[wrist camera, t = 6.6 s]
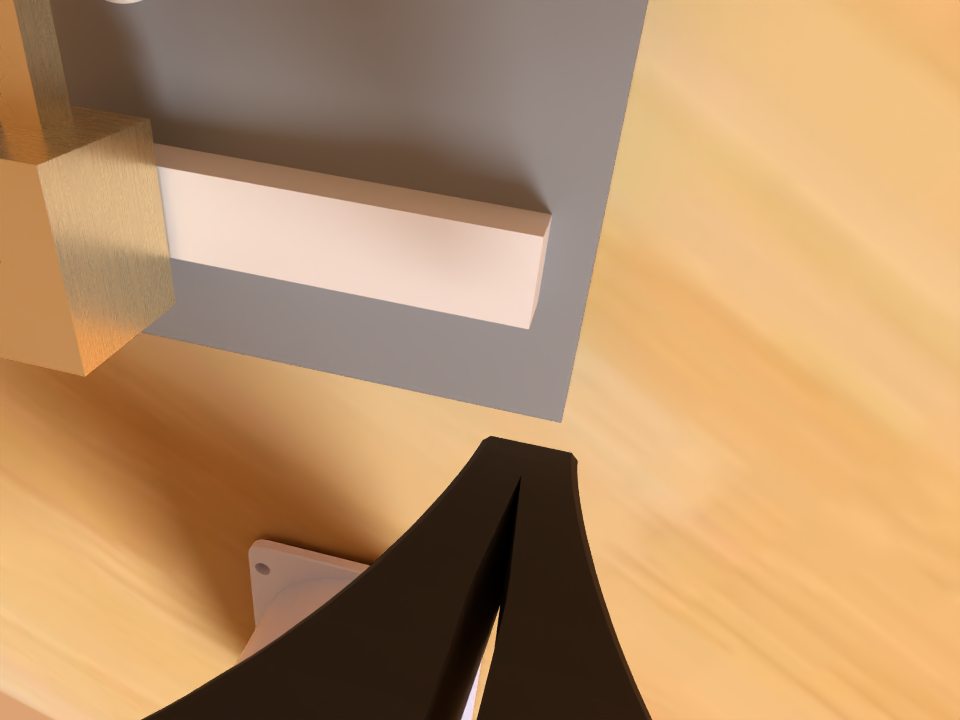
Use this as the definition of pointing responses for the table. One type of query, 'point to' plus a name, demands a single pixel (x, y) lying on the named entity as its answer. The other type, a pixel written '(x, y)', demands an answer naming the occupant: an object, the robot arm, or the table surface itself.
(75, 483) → the table surface
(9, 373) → the table surface
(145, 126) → the sliding trammel head
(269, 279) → the plate
